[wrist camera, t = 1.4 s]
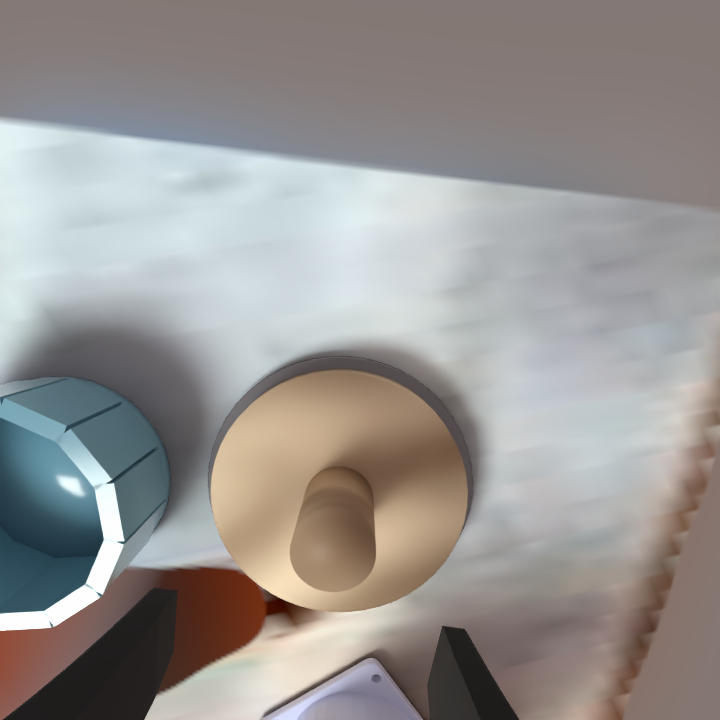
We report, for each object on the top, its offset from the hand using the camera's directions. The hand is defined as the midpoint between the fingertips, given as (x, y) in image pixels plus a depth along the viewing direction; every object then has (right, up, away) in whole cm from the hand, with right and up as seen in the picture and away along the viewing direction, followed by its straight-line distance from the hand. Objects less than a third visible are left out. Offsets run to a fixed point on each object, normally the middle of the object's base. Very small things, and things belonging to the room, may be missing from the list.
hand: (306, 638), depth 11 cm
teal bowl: (-13, +2, +10) cm, 16 cm away
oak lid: (0, +1, +9) cm, 9 cm away
